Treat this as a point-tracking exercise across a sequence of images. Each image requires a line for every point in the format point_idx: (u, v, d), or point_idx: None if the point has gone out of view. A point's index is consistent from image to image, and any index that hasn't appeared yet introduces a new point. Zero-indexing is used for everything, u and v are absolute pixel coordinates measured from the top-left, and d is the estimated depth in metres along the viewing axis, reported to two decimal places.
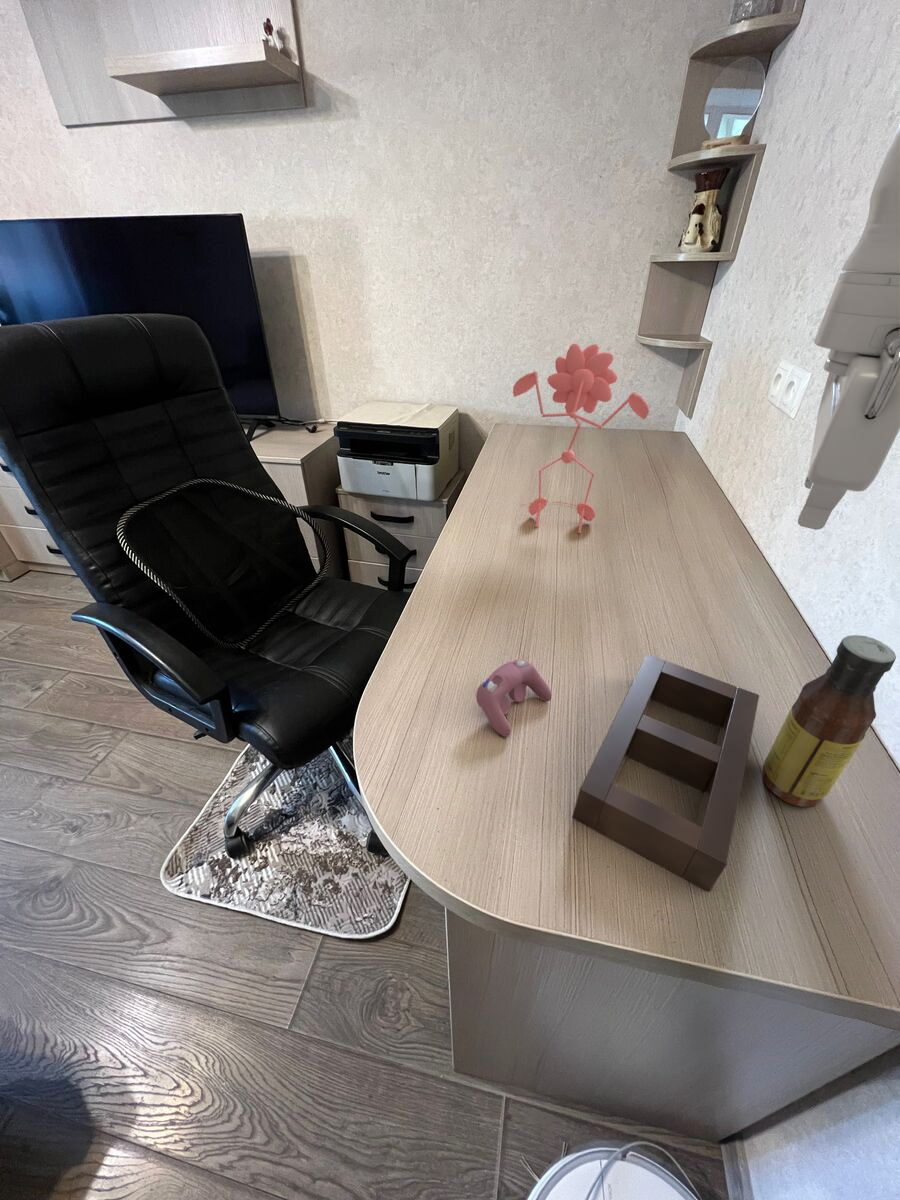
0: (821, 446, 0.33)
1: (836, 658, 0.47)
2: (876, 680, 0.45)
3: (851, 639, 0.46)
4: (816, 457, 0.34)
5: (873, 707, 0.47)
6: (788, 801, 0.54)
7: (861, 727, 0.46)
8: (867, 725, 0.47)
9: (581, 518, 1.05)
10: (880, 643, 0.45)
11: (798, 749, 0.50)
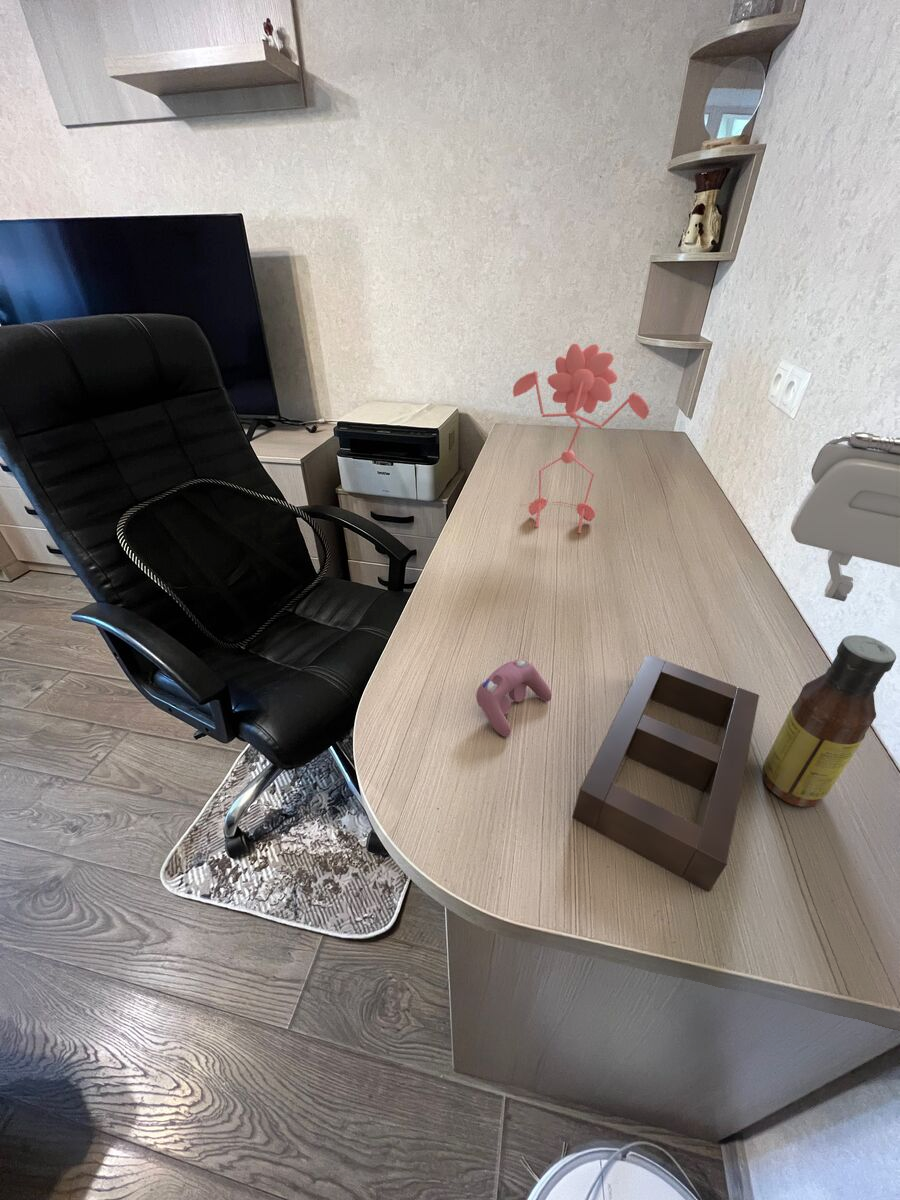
0: None
1: (836, 658, 0.47)
2: (876, 680, 0.45)
3: (851, 639, 0.46)
4: None
5: (873, 707, 0.47)
6: (788, 801, 0.54)
7: (861, 726, 0.46)
8: (867, 725, 0.47)
9: (581, 518, 1.05)
10: (880, 643, 0.45)
11: (798, 749, 0.50)
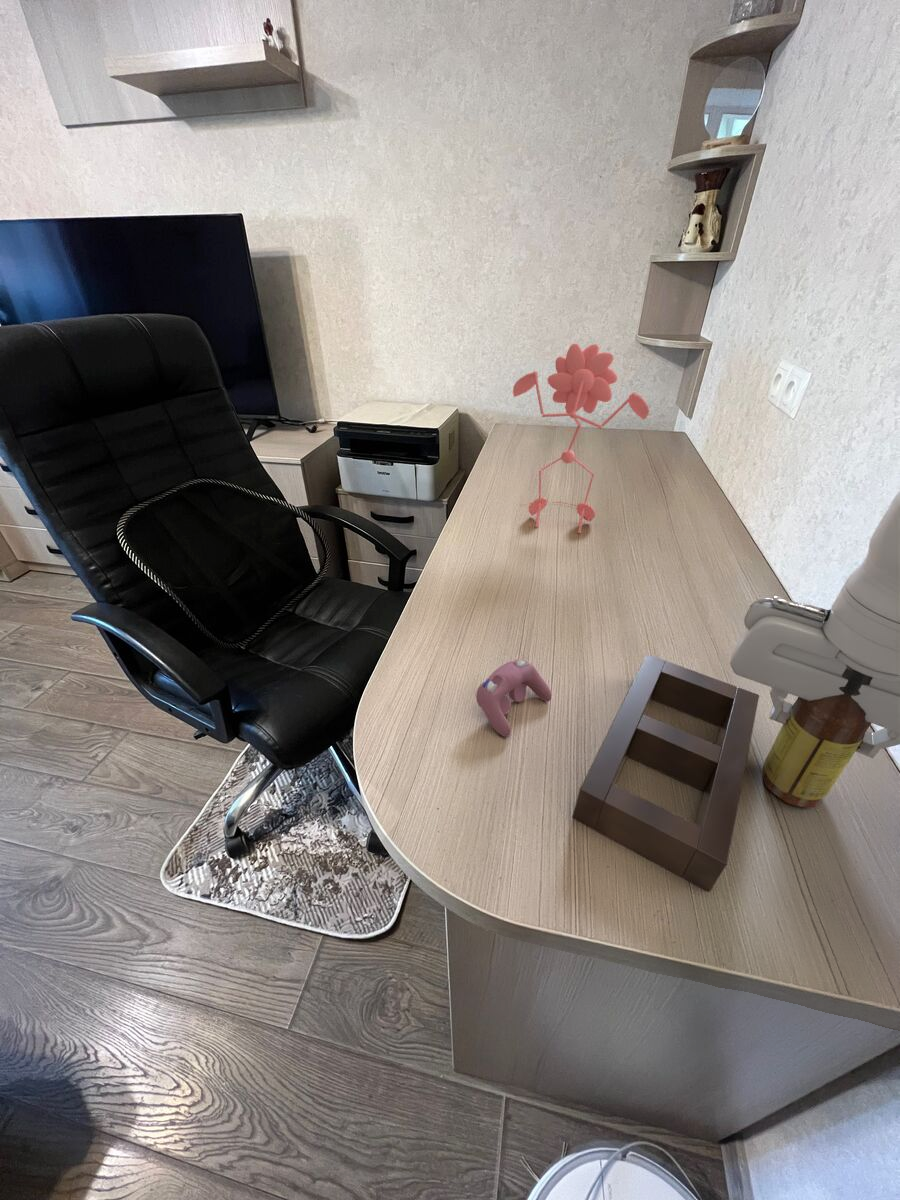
0: None
1: None
2: None
3: None
4: None
5: None
6: (788, 801, 0.54)
7: (860, 726, 0.46)
8: (867, 725, 0.47)
9: (581, 518, 1.05)
10: None
11: (798, 749, 0.50)
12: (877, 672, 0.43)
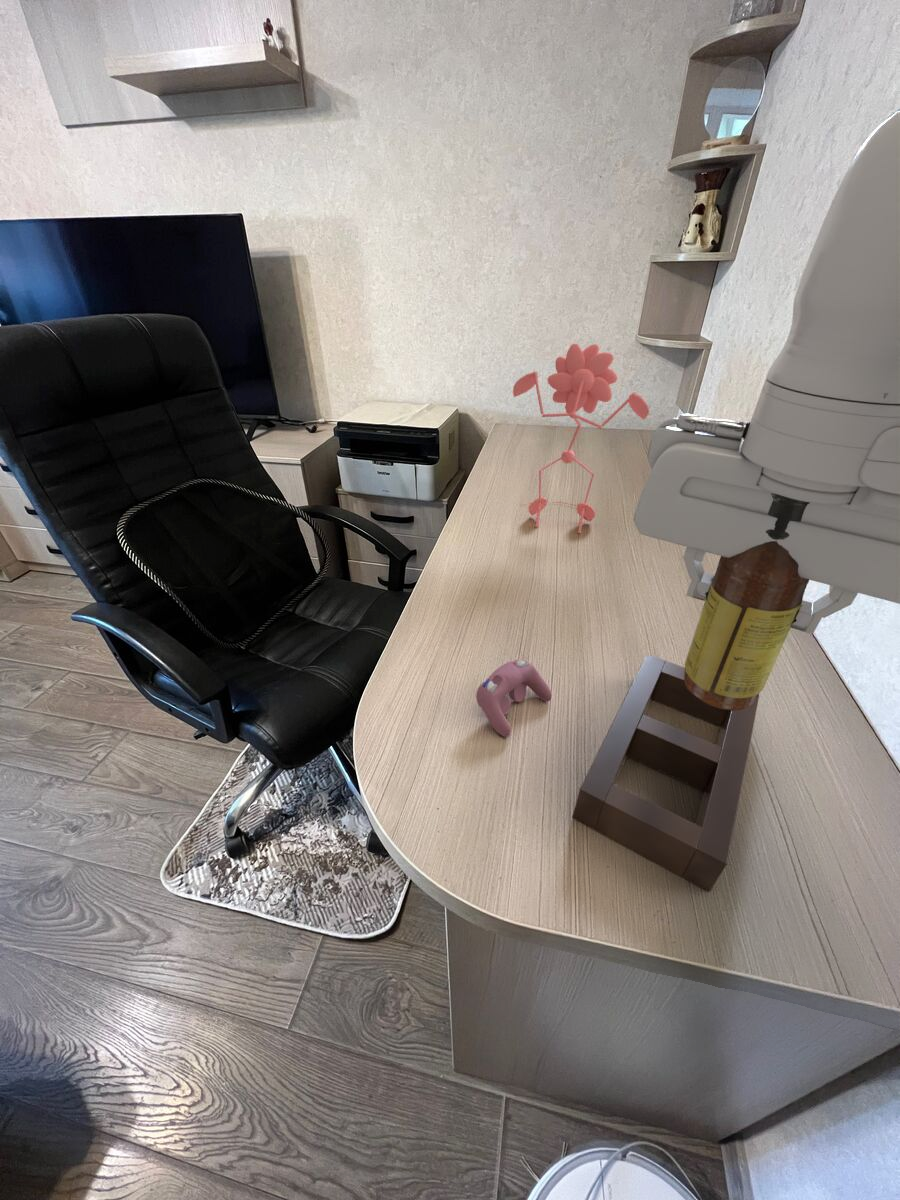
0: None
1: None
2: None
3: None
4: None
5: None
6: (711, 703, 0.42)
7: (792, 583, 0.35)
8: (801, 583, 0.35)
9: (581, 518, 1.05)
10: None
11: (718, 627, 0.39)
12: (808, 491, 0.31)
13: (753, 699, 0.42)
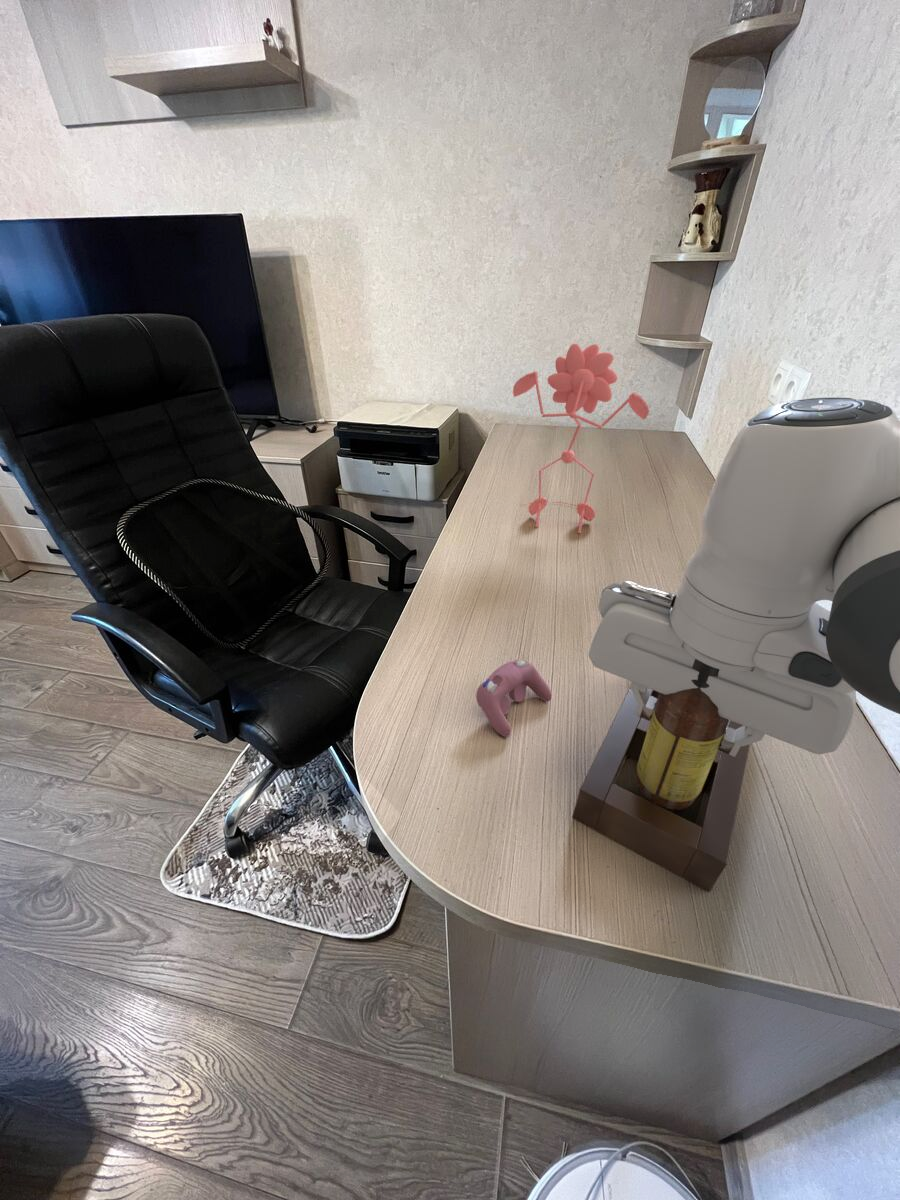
0: None
1: None
2: None
3: None
4: None
5: None
6: (657, 803, 0.50)
7: (714, 722, 0.43)
8: (722, 720, 0.43)
9: (581, 518, 1.05)
10: None
11: (659, 747, 0.47)
12: (718, 662, 0.39)
13: (692, 801, 0.49)
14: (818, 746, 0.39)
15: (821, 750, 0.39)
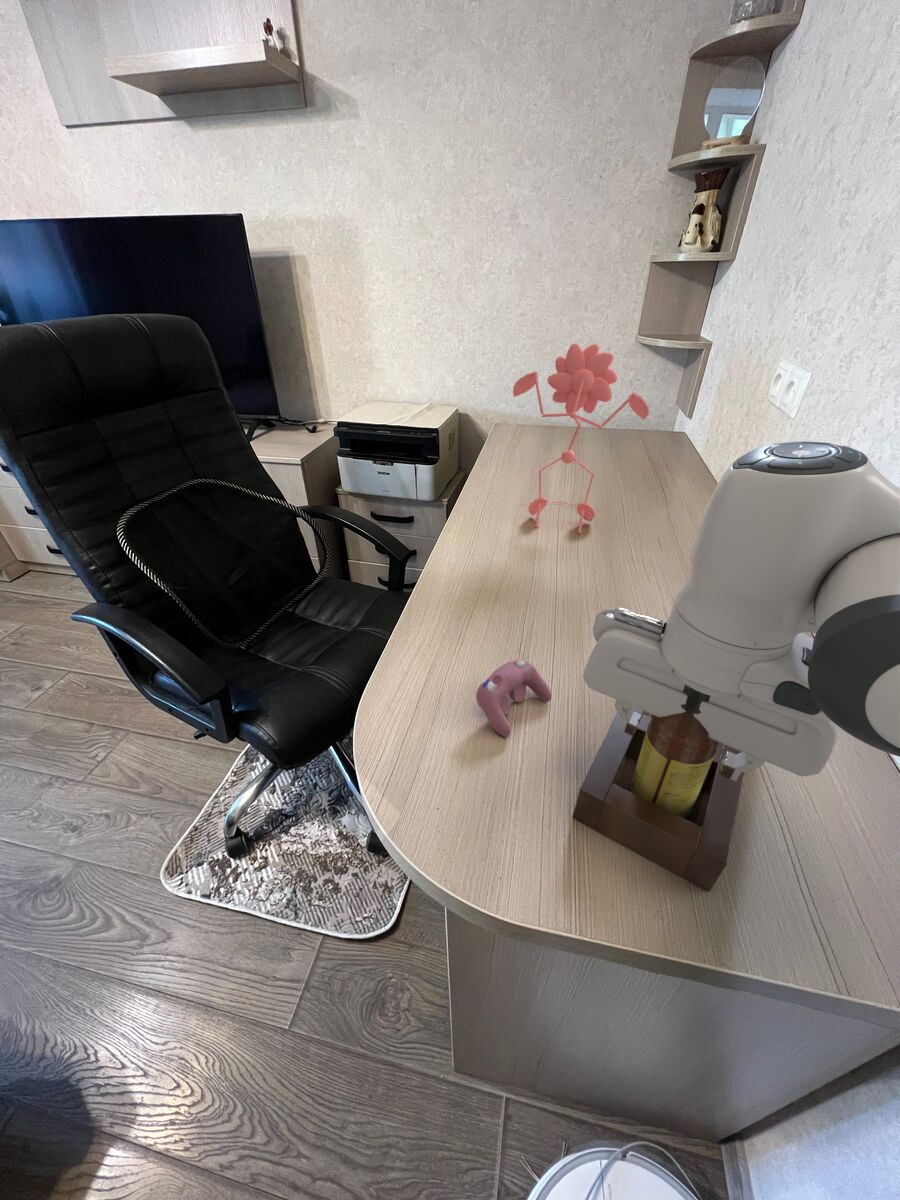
0: None
1: None
2: None
3: None
4: None
5: None
6: None
7: (704, 746, 0.44)
8: (711, 744, 0.45)
9: (581, 518, 1.05)
10: None
11: (651, 768, 0.48)
12: (706, 688, 0.41)
13: (684, 818, 0.51)
14: (802, 769, 0.41)
15: (805, 773, 0.41)
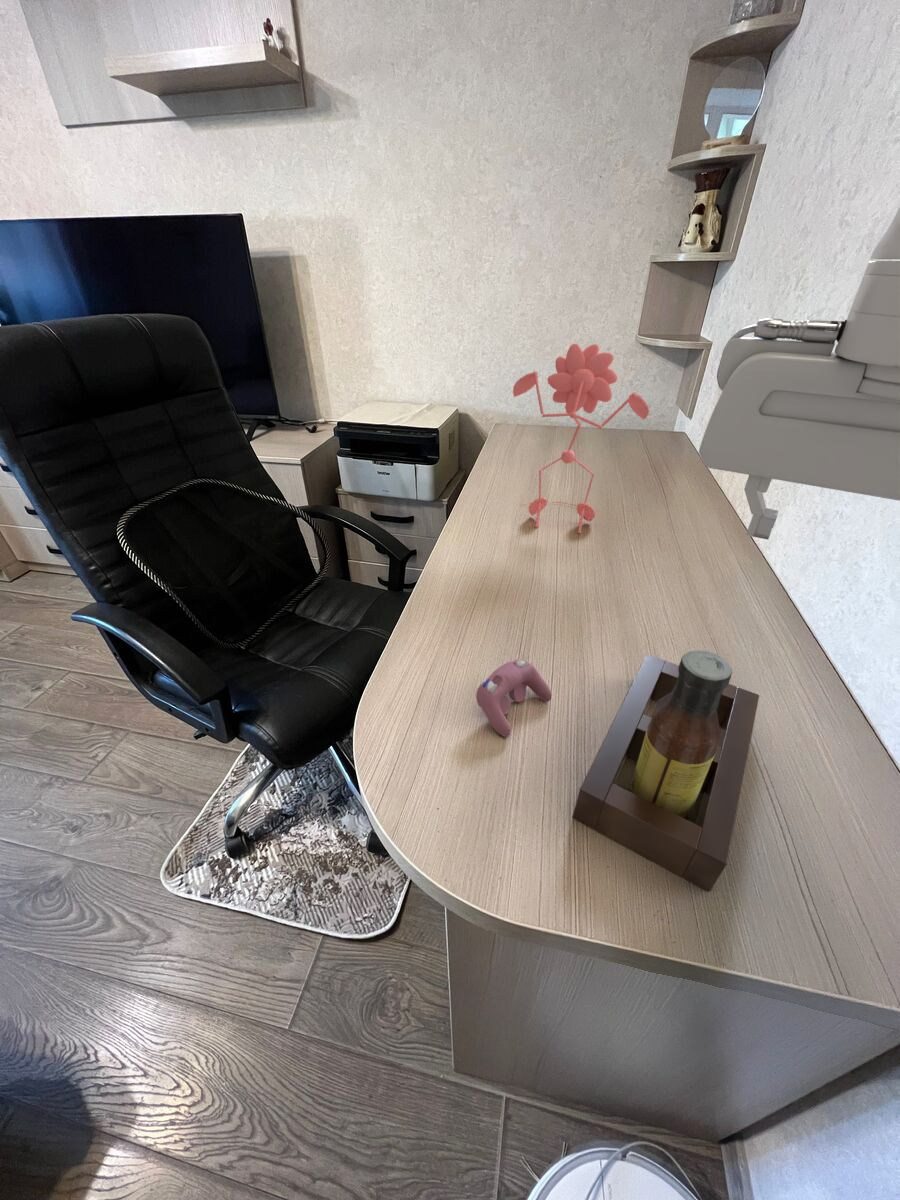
0: None
1: None
2: (714, 698, 0.43)
3: (692, 655, 0.44)
4: None
5: (717, 726, 0.44)
6: None
7: (704, 746, 0.44)
8: (711, 744, 0.45)
9: (581, 518, 1.05)
10: (720, 659, 0.43)
11: (651, 768, 0.48)
12: None
13: (684, 818, 0.51)
14: None
15: None
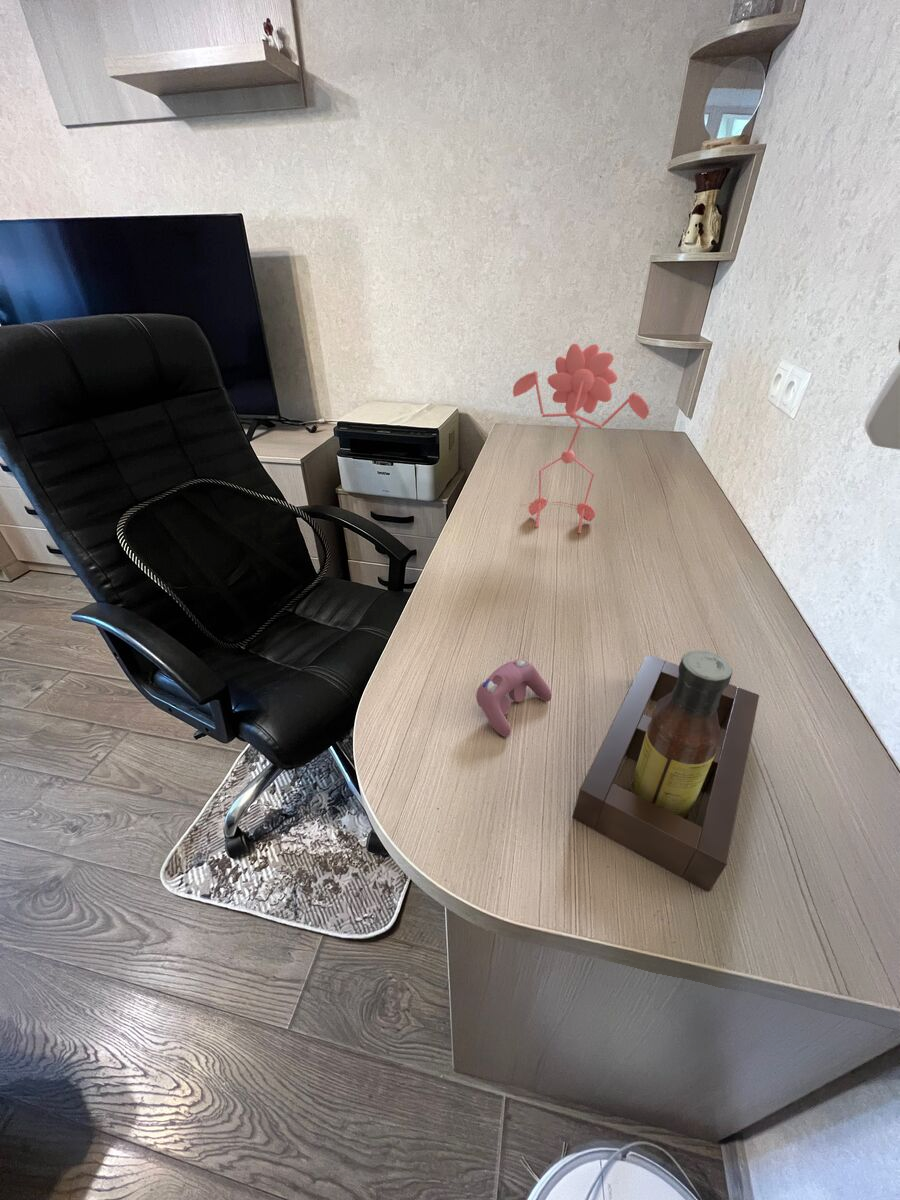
0: None
1: (679, 674, 0.45)
2: (714, 698, 0.43)
3: (692, 655, 0.44)
4: None
5: (717, 726, 0.44)
6: None
7: (704, 746, 0.44)
8: (711, 744, 0.45)
9: (581, 518, 1.05)
10: (720, 659, 0.43)
11: (651, 768, 0.48)
12: None
13: (684, 818, 0.51)
14: None
15: None
